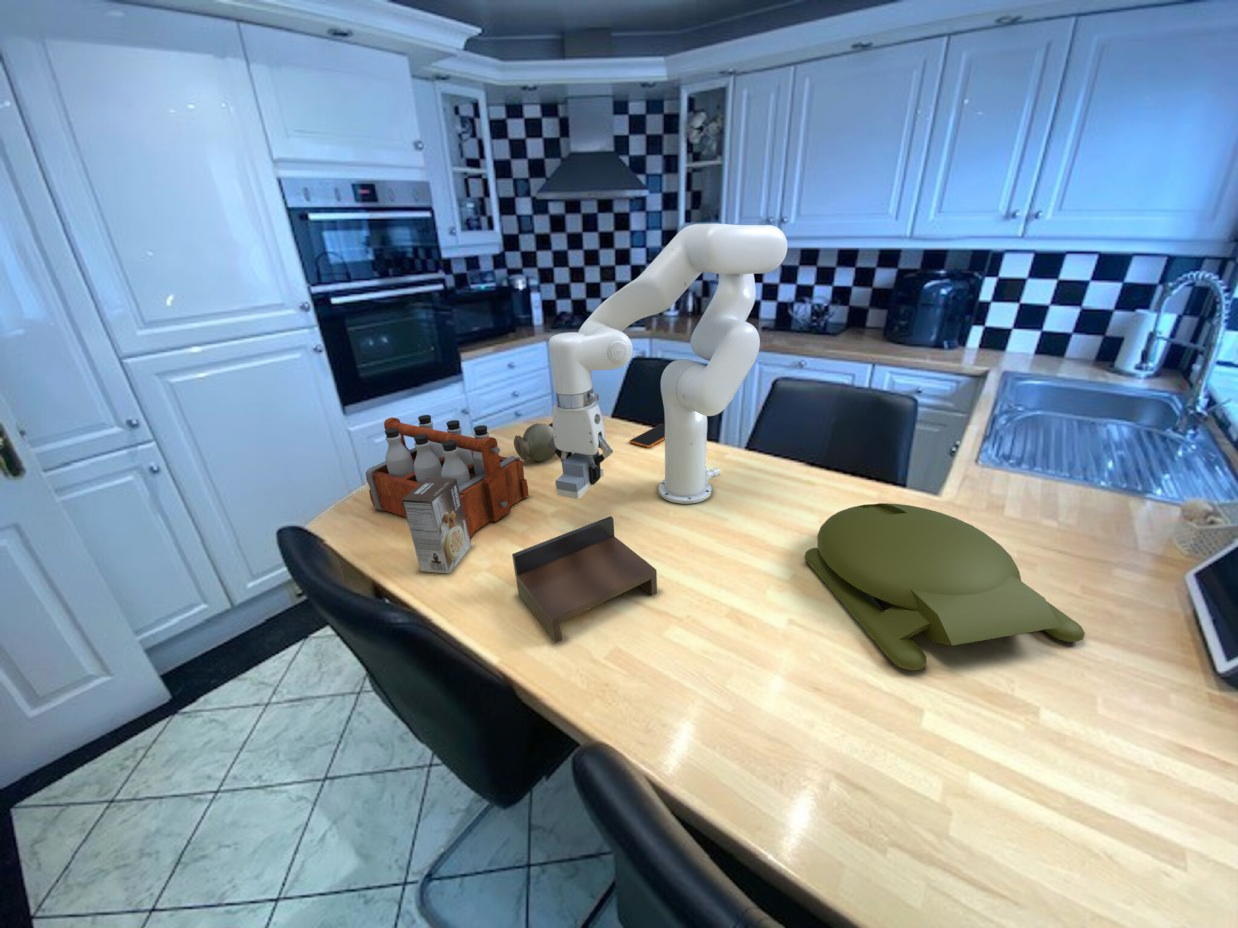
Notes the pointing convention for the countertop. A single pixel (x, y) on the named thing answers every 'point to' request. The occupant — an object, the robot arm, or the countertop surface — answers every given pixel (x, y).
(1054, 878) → the countertop surface
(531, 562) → the shelf rack
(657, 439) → the smartphone
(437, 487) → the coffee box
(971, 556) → the spaceship
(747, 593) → the countertop surface
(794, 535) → the countertop surface
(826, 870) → the countertop surface
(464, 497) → the milk bottle holder
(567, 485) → the stepped grey block
